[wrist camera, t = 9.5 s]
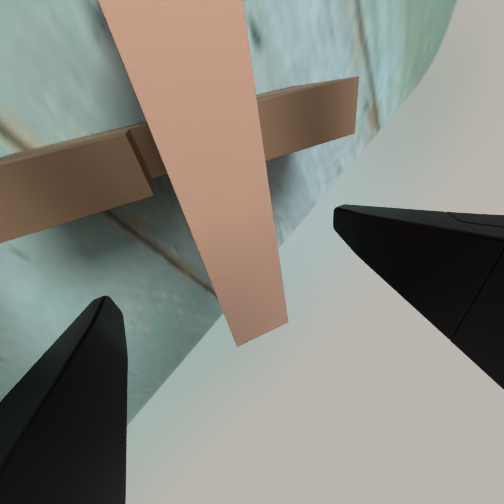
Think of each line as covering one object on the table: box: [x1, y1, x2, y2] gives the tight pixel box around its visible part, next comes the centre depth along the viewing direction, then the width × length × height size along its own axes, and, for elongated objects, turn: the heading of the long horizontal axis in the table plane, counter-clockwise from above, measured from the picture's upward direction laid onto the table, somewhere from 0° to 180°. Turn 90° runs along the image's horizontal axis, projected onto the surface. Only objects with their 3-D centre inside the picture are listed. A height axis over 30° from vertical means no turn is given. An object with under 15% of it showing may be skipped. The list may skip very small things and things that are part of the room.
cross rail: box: [0, 77, 359, 243], centre depth 10 cm, size 14×2×5 cm, turn 102°
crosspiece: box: [98, 0, 288, 346], centre depth 8 cm, size 11×2×9 cm, turn 12°
